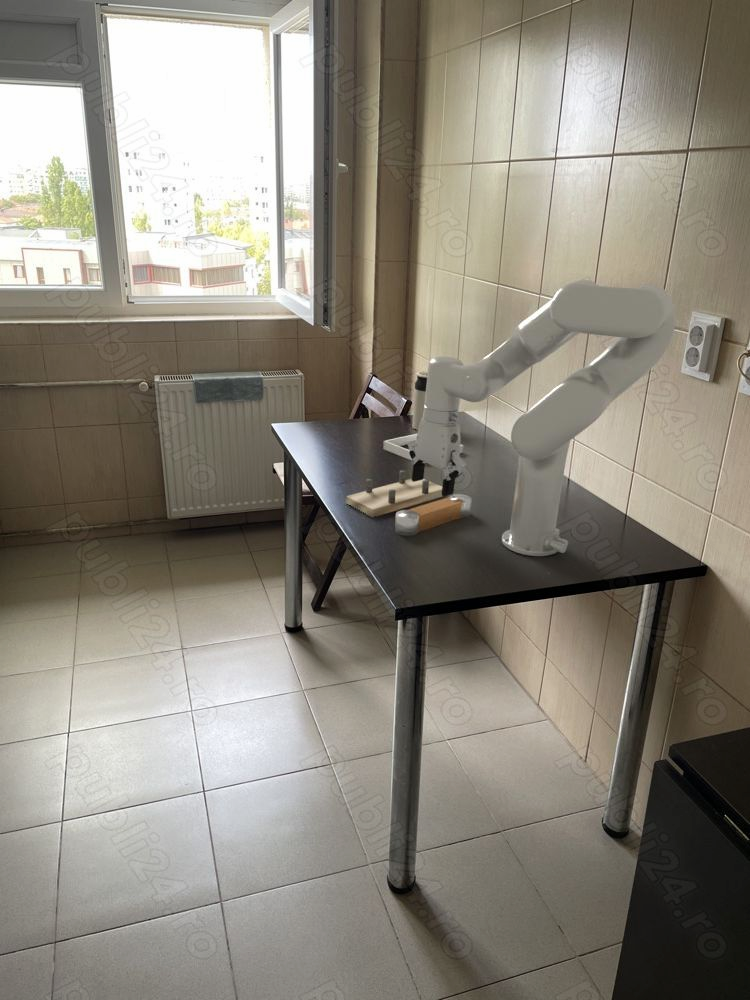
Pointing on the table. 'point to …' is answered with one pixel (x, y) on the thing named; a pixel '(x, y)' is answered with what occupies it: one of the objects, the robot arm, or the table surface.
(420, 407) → the travel mug
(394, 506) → the tool rack
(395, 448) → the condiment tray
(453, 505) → the orange dumbbell
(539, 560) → the table surface
